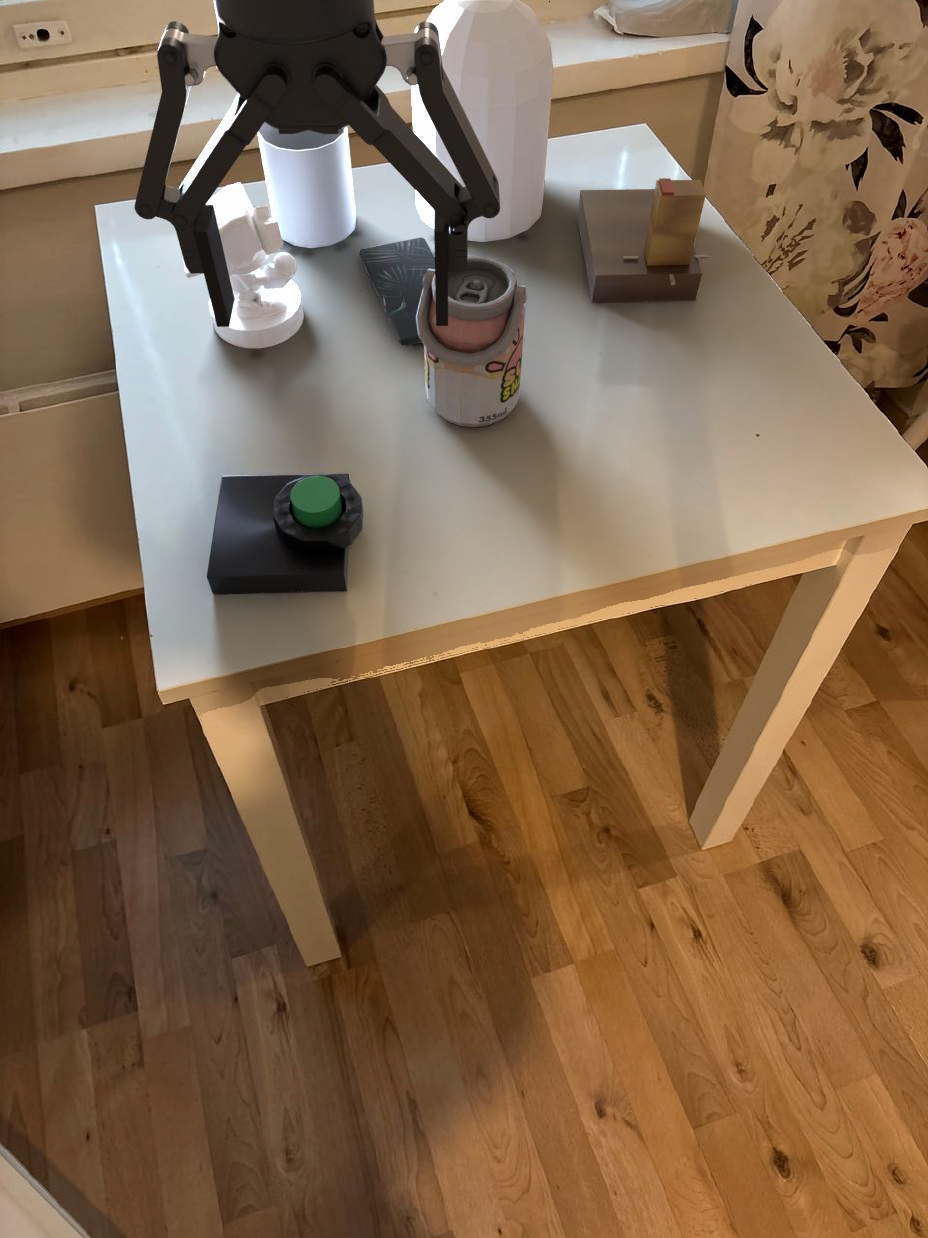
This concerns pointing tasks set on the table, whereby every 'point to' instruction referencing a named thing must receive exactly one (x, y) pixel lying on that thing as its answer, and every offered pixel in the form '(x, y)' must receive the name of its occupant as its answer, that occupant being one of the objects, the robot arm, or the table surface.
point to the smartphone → (399, 282)
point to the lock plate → (628, 251)
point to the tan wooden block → (673, 221)
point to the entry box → (279, 538)
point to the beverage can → (474, 343)
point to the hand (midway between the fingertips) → (334, 313)
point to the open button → (316, 501)
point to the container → (496, 104)
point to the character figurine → (255, 273)
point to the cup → (309, 185)
